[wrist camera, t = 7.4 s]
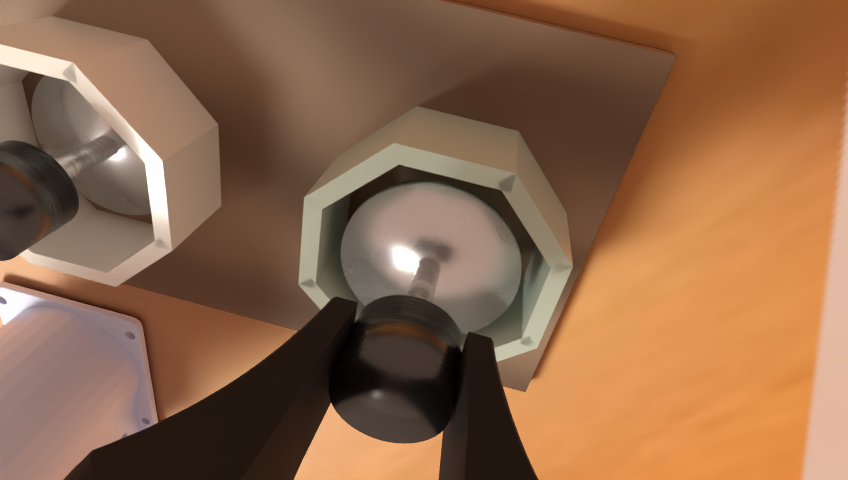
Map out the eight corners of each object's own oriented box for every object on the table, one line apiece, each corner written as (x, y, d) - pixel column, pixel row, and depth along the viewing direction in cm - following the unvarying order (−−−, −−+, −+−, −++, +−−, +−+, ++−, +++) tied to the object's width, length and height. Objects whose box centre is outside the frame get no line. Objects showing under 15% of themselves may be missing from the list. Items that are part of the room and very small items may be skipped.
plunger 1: (193, 226, 21) (88, 320, 16) (57, 190, 21) (-86, 272, 16) (182, 83, 18) (47, 147, 13) (23, 44, 18) (-170, 91, 13)
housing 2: (518, 332, 21) (516, 395, 18) (325, 281, 22) (294, 335, 19) (592, 149, 17) (604, 195, 14) (345, 88, 17) (308, 121, 14)
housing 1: (223, 254, 22) (177, 303, 19) (40, 205, 22) (-31, 247, 19) (216, 56, 17) (154, 82, 14) (-15, -1, 18) (-119, 14, 15)
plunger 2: (494, 347, 19) (480, 503, 14) (336, 305, 19) (266, 443, 14) (546, 207, 15) (554, 346, 10) (354, 158, 16) (271, 270, 11)
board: (525, 382, 24) (525, 392, 23) (41, 251, 25) (31, 258, 24) (671, 52, 15) (677, 56, 15) (-65, -122, 16) (-83, -124, 16)
